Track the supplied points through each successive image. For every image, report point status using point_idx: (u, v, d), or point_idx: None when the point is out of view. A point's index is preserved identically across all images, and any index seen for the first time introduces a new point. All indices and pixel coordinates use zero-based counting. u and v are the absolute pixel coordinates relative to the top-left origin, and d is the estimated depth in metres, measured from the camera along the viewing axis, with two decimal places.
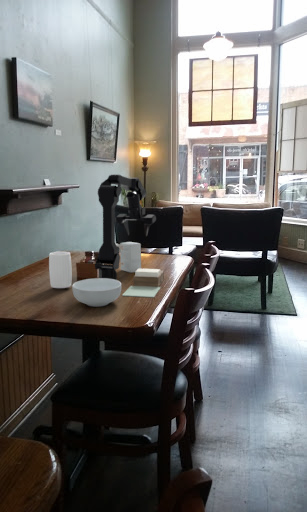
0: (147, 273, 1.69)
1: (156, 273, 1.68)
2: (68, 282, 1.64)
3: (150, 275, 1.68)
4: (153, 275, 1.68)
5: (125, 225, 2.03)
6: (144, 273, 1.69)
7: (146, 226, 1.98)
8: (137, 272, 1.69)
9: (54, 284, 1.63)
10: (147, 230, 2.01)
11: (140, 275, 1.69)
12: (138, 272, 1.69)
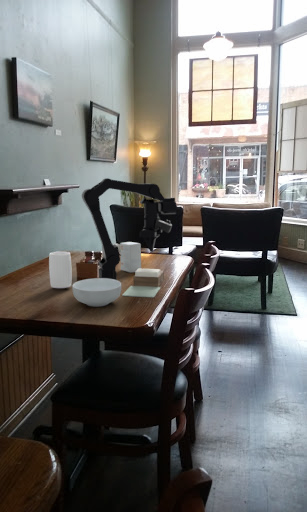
0: (147, 273, 1.69)
1: (156, 273, 1.68)
2: (68, 282, 1.64)
3: (150, 275, 1.68)
4: (153, 275, 1.68)
5: None
6: (144, 273, 1.69)
7: None
8: (137, 272, 1.69)
9: (54, 284, 1.63)
10: (149, 244, 1.76)
11: (140, 275, 1.69)
12: (138, 272, 1.69)
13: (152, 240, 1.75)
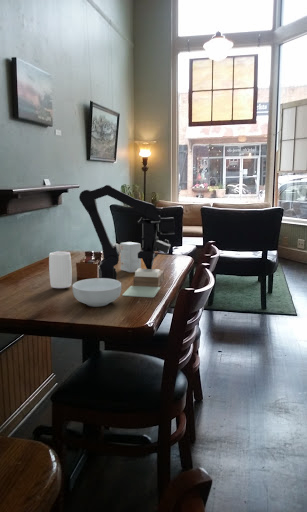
0: (147, 273, 1.68)
1: (156, 273, 1.68)
2: (68, 282, 1.64)
3: (150, 275, 1.68)
4: (153, 275, 1.68)
5: None
6: (144, 273, 1.69)
7: None
8: (137, 272, 1.69)
9: (54, 284, 1.63)
10: (147, 265, 1.74)
11: (140, 275, 1.69)
12: (138, 272, 1.69)
13: (150, 260, 1.73)
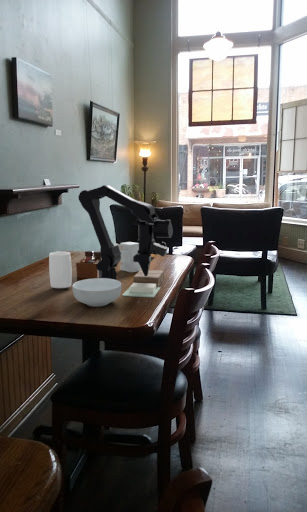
0: None
1: None
2: (68, 282, 1.64)
3: None
4: None
5: None
6: None
7: None
8: None
9: (54, 284, 1.63)
10: (143, 268, 1.67)
11: None
12: None
13: (147, 264, 1.66)
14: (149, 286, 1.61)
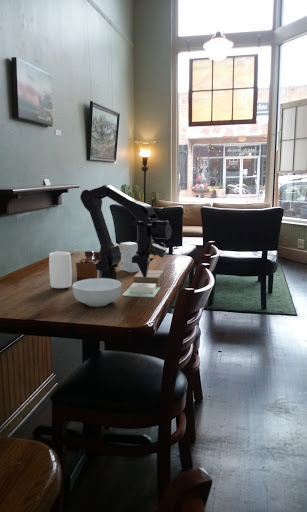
0: None
1: None
2: (68, 282, 1.64)
3: None
4: None
5: None
6: None
7: None
8: None
9: (54, 284, 1.63)
10: (142, 269, 1.65)
11: None
12: None
13: (145, 265, 1.64)
14: (149, 286, 1.61)
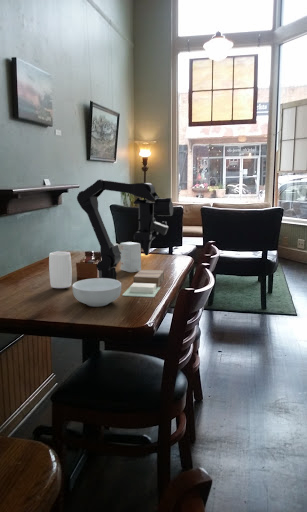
0: None
1: None
2: (68, 282, 1.64)
3: None
4: None
5: None
6: None
7: None
8: None
9: (54, 284, 1.63)
10: (144, 247, 1.66)
11: None
12: None
13: (147, 243, 1.65)
14: (149, 286, 1.61)
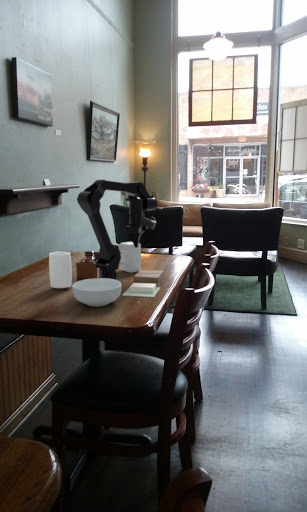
0: None
1: None
2: (68, 282, 1.64)
3: None
4: None
5: None
6: None
7: None
8: None
9: (54, 284, 1.63)
10: (134, 240, 1.82)
11: None
12: None
13: (137, 236, 1.81)
14: (149, 286, 1.61)
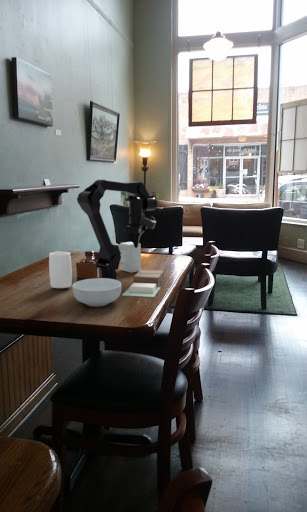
0: None
1: None
2: (68, 282, 1.64)
3: None
4: None
5: None
6: None
7: None
8: None
9: (54, 284, 1.63)
10: (134, 240, 1.82)
11: None
12: None
13: (137, 236, 1.81)
14: (149, 286, 1.61)
